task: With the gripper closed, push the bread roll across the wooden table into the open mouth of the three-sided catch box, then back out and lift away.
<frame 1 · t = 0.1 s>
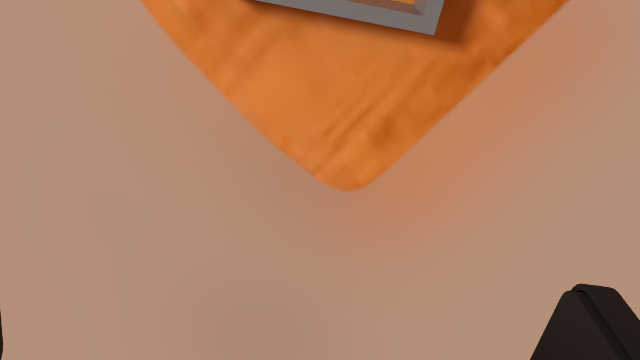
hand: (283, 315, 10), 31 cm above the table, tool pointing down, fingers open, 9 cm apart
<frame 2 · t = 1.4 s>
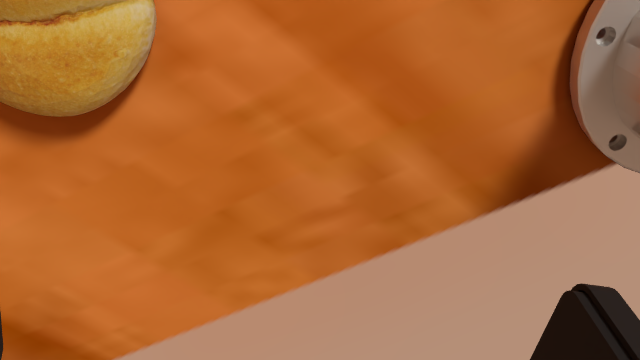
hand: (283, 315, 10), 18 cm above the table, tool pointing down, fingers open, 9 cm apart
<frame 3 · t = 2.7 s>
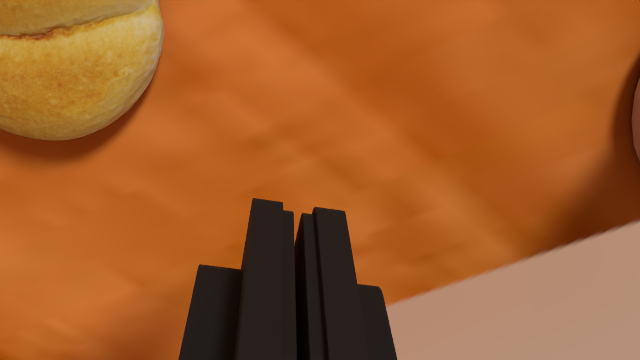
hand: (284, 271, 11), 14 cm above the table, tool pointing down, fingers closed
bread roll: (52, 3, 22), on the table
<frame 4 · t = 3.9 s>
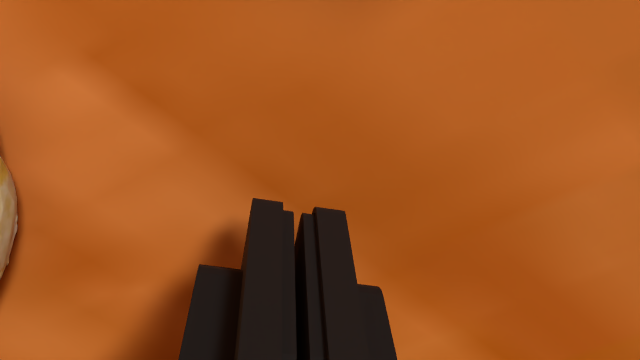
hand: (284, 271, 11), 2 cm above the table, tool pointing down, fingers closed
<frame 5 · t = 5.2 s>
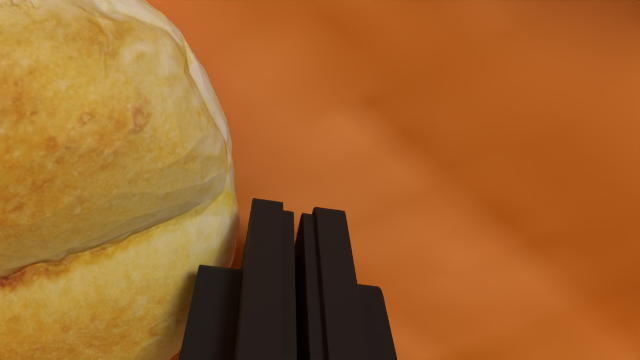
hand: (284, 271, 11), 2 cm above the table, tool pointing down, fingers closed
bread roll: (28, 163, 12), on the table, touching gripper
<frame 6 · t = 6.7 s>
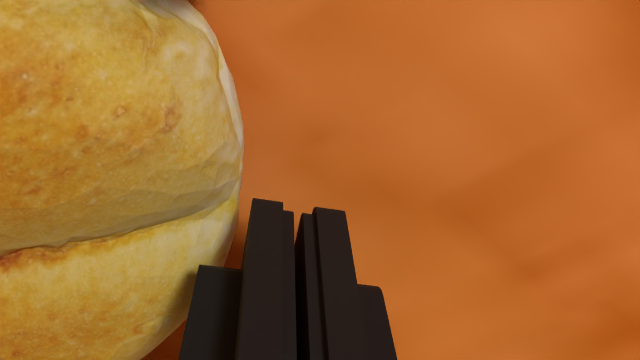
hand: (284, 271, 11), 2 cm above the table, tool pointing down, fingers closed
bread roll: (24, 137, 11), on the table
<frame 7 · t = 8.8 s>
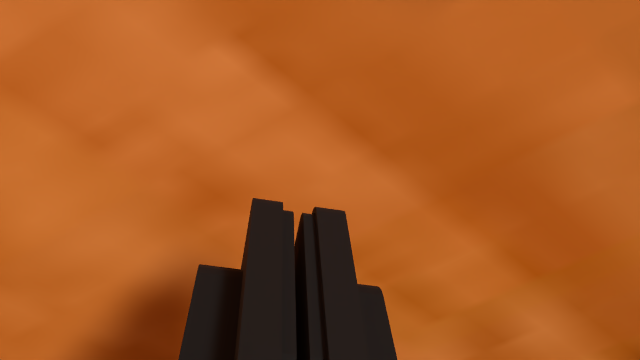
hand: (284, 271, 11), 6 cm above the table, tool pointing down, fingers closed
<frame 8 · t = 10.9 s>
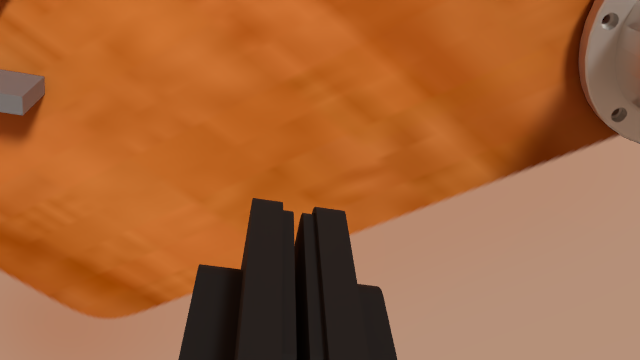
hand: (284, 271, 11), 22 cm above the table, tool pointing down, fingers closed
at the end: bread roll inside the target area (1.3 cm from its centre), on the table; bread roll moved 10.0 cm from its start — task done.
